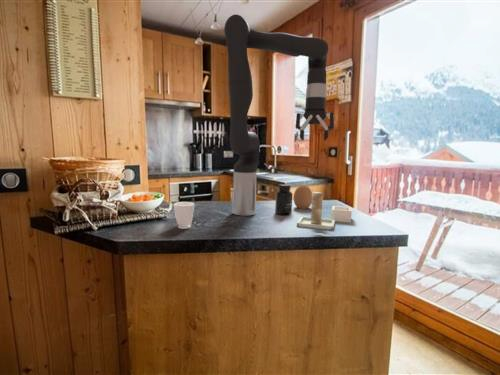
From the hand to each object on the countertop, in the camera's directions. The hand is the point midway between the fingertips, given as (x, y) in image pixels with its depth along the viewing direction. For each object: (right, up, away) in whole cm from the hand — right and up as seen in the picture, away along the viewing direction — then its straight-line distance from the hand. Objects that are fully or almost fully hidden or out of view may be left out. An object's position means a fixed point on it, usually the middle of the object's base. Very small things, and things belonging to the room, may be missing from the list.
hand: (313, 140), depth 114 cm
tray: (-2, -32, -11) cm, 34 cm away
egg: (-2, -28, +16) cm, 32 cm away
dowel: (-2, -31, -11) cm, 33 cm away
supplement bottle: (-11, -29, +8) cm, 32 cm away
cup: (-47, -32, -12) cm, 58 cm away
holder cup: (+10, -31, -3) cm, 33 cm away
